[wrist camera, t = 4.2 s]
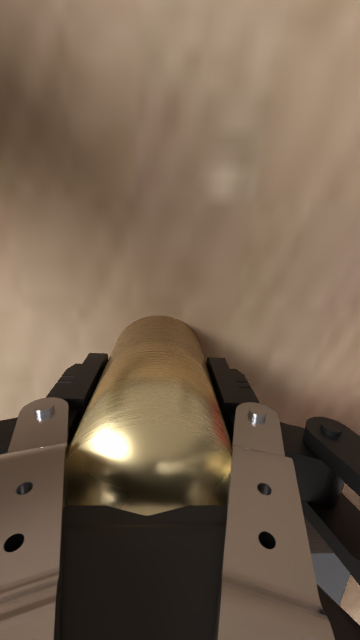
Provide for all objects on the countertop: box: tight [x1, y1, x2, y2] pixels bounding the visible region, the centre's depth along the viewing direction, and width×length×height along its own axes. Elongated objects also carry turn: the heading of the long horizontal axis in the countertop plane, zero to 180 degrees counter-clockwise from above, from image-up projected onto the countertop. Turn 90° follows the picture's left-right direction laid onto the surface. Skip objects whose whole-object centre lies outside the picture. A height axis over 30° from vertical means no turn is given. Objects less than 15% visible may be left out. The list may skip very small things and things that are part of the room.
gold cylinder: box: [66, 316, 232, 516], centre depth 10 cm, size 4×4×8 cm
